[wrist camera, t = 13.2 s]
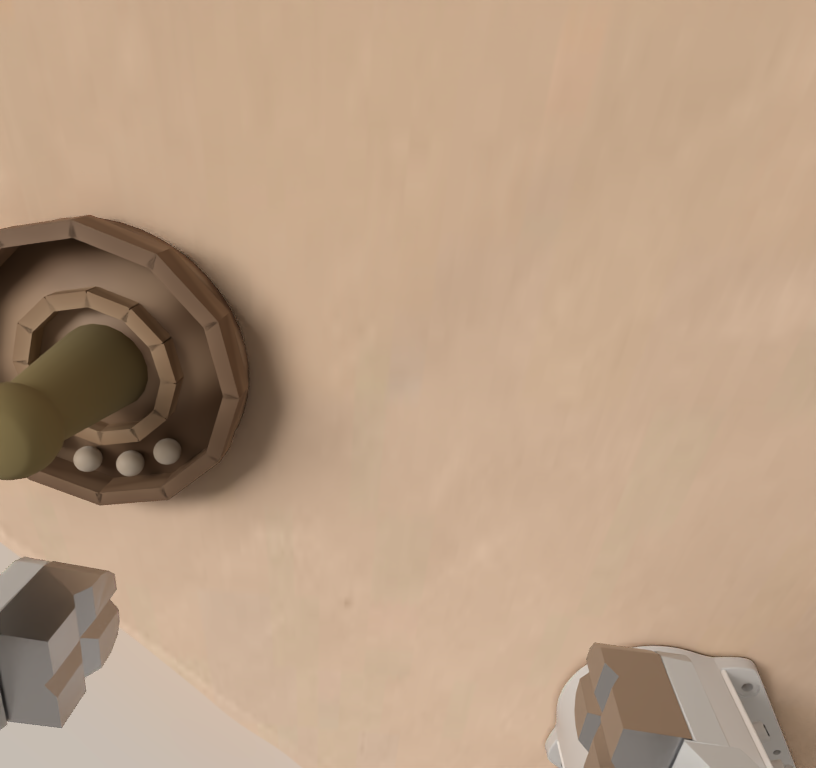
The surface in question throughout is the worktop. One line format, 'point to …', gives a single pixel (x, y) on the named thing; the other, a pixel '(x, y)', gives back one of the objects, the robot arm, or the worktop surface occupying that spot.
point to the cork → (66, 395)
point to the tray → (150, 331)
